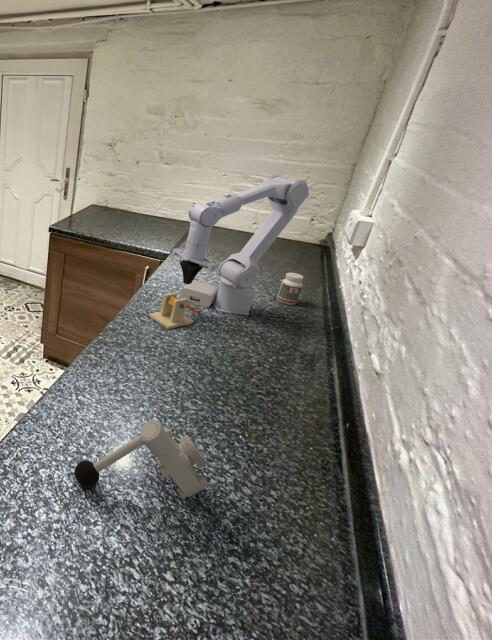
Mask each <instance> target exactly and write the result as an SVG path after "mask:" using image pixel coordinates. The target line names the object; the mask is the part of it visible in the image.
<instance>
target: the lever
mask: <svg viewBox="0 0 492 640" xmlns="http://www.w3.org/2000/svg"><path fill="white" fill-rule="evenodd" d="M177 299H179V298H178V297H173V296H171V297H170V299H169V300H168V302H167V303H169V304H170V305H172V306H173V304H174V300H177ZM186 309H187V310H191V311H193V312H195V313H196V314H199V315H200V314H201V310H199V309H198V308H196V307H194V306H193V305H191V304H189V303H187V305H186Z"/></svg>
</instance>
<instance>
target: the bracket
mask: <svg viewBox="0 0 492 640" xmlns="http://www.w3.org/2000/svg"><path fill="white" fill-rule="evenodd" d="M171 296H173V297H176V298H178V292H175V291H173V292H168V293H164V294H163V297H162V301H161V306H160V311H155V312H151V313H148V318H151V319H152V320H154V321H155V322H157V323H158V324H159V325H161V326H162V327H164V328H166V329H167V330H171V329H175V328H180V327H184V326H187V325H191V324H194V320H193V319H192V318H190V317H188V316H187V315H185V313H186V310H187V308H186V305H187V304H188V299H187V298H182V299H180V298H178V299H177V300H174V304H173V306H172V305H170V304H169V303H167V302H168V300H169V299H170V297H171Z"/></svg>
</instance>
